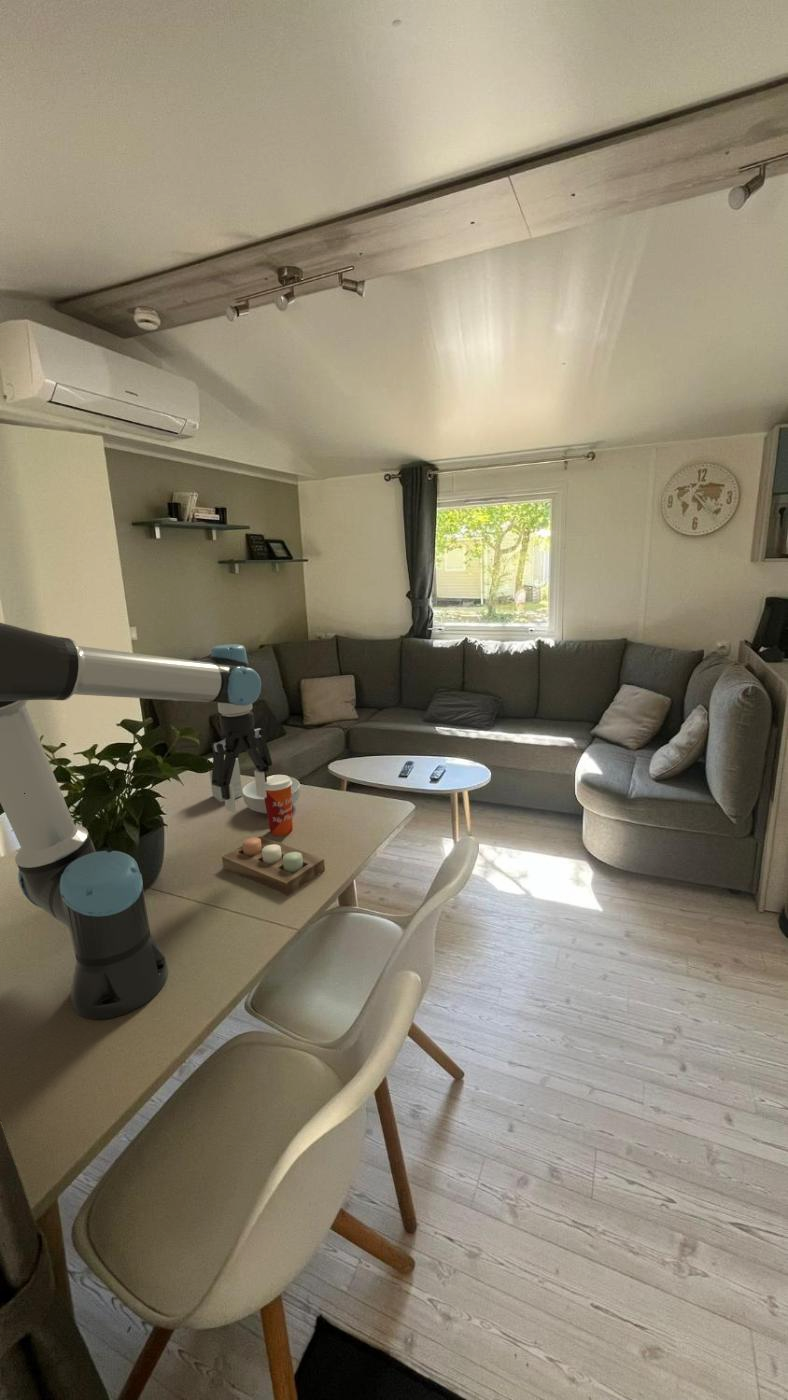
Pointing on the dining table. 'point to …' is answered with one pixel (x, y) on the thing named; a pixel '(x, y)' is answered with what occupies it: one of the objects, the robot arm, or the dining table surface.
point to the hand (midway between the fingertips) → (246, 803)
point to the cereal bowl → (259, 802)
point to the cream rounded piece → (271, 854)
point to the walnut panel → (273, 868)
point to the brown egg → (252, 846)
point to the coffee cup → (279, 804)
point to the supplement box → (234, 781)
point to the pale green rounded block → (292, 862)
